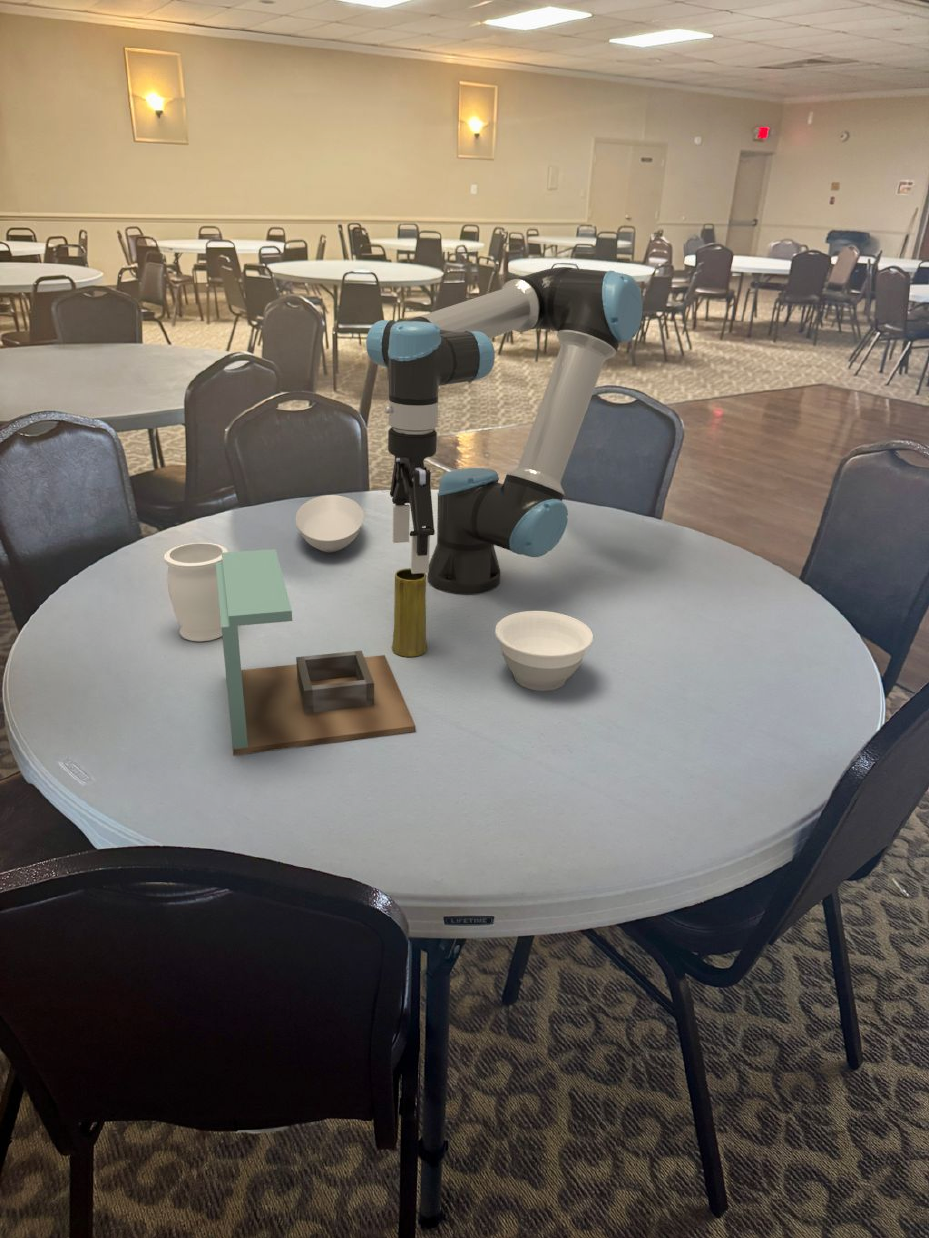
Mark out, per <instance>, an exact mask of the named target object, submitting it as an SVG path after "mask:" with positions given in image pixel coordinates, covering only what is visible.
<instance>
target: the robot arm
mask: <svg viewBox="0 0 929 1238" xmlns="http://www.w3.org/2000/svg"><path fill="white" fill-rule="evenodd" d="M642 298H643V297H642V292H641V288H640V286H639V284H638V282H637V280H636V279H635V278H634V277H633V276H631V275H630V274H627V273H623V272H622V273H621V272H616V271H614V270H607V271H606V270H597V269H590V268H589V269H588V268H577V267H572V266H571V267H569V266H562V267H561V266H559V267H552V268H546V269H542V270H540V271H536V272H532V273H529V274H526V275H523V276H520V277H516V278H513V279H510V280H509V281H506V283H505V284H504V285H503V286H502V288H501V289H498V290H496V291H492V292H489V293H486V294H483V295H480V296H477V297H474V298H472V299H468V300H465V301H462V302H460V303H456V304H453V305H450V306H447V307H444V308H441V309H437V310H435V311H431V312H428V313H425V314H422V315H418V316H415V317H412V318H409V319H408V318H407V319H406V320H403V321H402V320H401V321H396V320H394V319H388V320H387V319H386V320H385V319H381V320H378V321H376V322H375V323H374V324H373V325H372V326H371V327H370V328H369V330H368V333H367V334H366V335H367V336H366V339H365V345H366V346H365V347H366V351H367V355H368V357H369V359H370V360H371V361H372V362H373V363H374V364H376V365H377V366H380V367H383V368H386V369H388V404H389V406H385V409H384V413H386V414H388V426H390V428H389V430H388V432H387V433H388V434H387V435H388V436H387V440H388V441H387V449H388V453H389V454H390V455H392V456H393V457H394V464H393V470H392V476H391V477H392V478H391V484H390V490H389V491H390V492H389V496H390V497H391V498H392V500H391V502H392V504H393V505H392V543H393V544H400V543H410V537H411V556H410V557H411V561H410V563H411V564H410V568H411V573H412V574H417V573H425V574H427V576H426V580H427V581H428V583H429V584H430V585H431V586H433V587H434V588H435V589H439V590H441V591H443V592H446V593H450V594H457V595H458V594H459V595H474V594H483V593H487V592H490V591H492V590H495V589H496V588H497V587H498V586H499V585H500V583H501V573H502V572H501V568H500V564H499V563H500V562H499V560H498V556H497V553H496V549H495V546H496V547H499V548H502V549H505V550H507V551H510V552H512V553H514V554H517V555H523V556H527V557H529V558H539V557H543V556H545V555H546V554H548V553H549V552H550V551H552V550H553V549H554V548H555V547H557V545H558V543H559V542H560V541H561V539H562V537H563V535H564V533H565V531H566V529H567V525H568V520H569V518H568V515H569V511H568V507H567V506H566V504H565V503H564V502H563V499H564V497H565V491H564V490H563V487H562V484H561V482H562V479H563V476H564V473H565V472H566V471H565V470H566V468H567V465H568V462H569V460H570V457H571V455H572V452H573V448H574V446H575V443H576V440H577V438H578V436H579V432H580V429H581V427H582V424H583V421H584V418H585V416H586V414H587V413H586V412H587V410H588V407H589V405H590V402H591V399H592V396H593V394H594V391H595V389H596V386H597V383H598V380H599V378H600V375H601V372H602V369H603V366H604V363H605V362H606V361H607V360H609V359H611V358H614V357H615V356H616V354H617V352H618V349H619V346H620V344H625V343H629V342H630V341H632V340H633V339H634V338H635V337H636V336H637V334H638V332H639V330H640V326H641V322H642V317H643V299H642ZM531 330H547V331H553V332H557V333H556V337H557V339H558V342H559V343H560V348H559V351H558V354H557V357H556V359H555V362H554V364H553V366H552V367H553V368H552V370H551V374H550V376H549V379H548V382H547V385H546V387H545V390H544V393H543V396H542V397H541V398H542V399H541V401H540V404H539V406H538V408H537V413H536V415H535V418H534V420H533V423H532V426H531V429H530V432H529V434H528V437H527V439H526V443H525V446H524V449H523V451H522V454H521V457H520V460H519V463H518V465H517V467H515V469H513V470H511V471H509V472H507V473H506V475H505V478H504V481H503V483H500V482H499V479H500V476H499V473H498V471H496V470H494V469H491V468H485V467H483V468H481V467H467V468H460V469H454V470H451V471H447V472H445V473H444V474H443V475H442V476H440V478H439V483H438V492H437V521H436V522H437V523H436V524H437V527H436V529H437V530H436V531H437V532H436V533H437V535H436V536H437V537H436V539H437V540H436V545H435V548H434V550H433V552H432V555H431V558H430V546H431V545H430V544H431V543H430V540H431V536H435V534H436V533H435V524H434V512H433V500H432V499H433V498H432V489H431V488H432V487H431V476H432V473H431V470H430V469H427V467H426V466H425V459H427V458H431V457H433V456H435V454H436V453H437V443H438V442H437V439H438V437H437V436H438V434H437V433H438V432H437V431H436V428H437V427H438V425H439V424H438V423H439V422H438V421H439V420H438V419H439V390H440V389H439V387H441V386H446V385H452V384H453V385H454V384H460V383H472V382H474V381H476V380H480V379H484V378H485V377H487V376H488V375H489V374H490V373H491V372H492V369H493V368H494V365H495V359H496V358H495V355H496V352H495V348H494V344H493V342H492V340H491V339H493V338H496V337H499V336H501V335H504V334H508V333H510V332H512V331H514V332H517V333H525V332H528V331H531ZM410 514H411V515H410ZM410 516H411V517H410ZM410 518H411V519H412V521H411V522H412V527H413V528H412V529H413V530H411V531H410Z"/></svg>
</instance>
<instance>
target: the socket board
mask: <svg viewBox="0 0 929 1238" xmlns="http://www.w3.org/2000/svg"><path fill="white" fill-rule="evenodd" d="M295 658H296V661H295V662H296V663H295V664H285V665H278V666H276V665H275V666H267V667H265V666H264V667H257V668H246V669H241V673H242V685H243V697H244V708H245V720H246V732H247V744H248V748H240V749H233V748H232V753H233V755H232V756H239V755H246V754H253V753H263V752H269V751H277V750H278V751H279V750H285V749H292V748H300V747H308V746H316V745H323V744H331V743H337V742H338V743H339V742H347V741H355V740H361V739H368V738H369V739H371V738H377V737H384V736H385V737H386V736H392V735H401V734H406V733H407V734H408V733H414V732H416V724H415V722H414V719H413V717H412V715H411V713H410V710H409V708H408V705H407V703H406V701H405V699H404V696H403V694H402V691H401V690H400V687H399V685H398V682H397V680H396V677H395V676H394V674H393V671H392V669H391V666H390V664H389V662H388V659H387V657H386V655H382V654H381V655H373V656H364V653H363V650H355V651H354V650H353V651H344V652H334V653H324V654H314V655H304V656H296V657H295Z"/></svg>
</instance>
